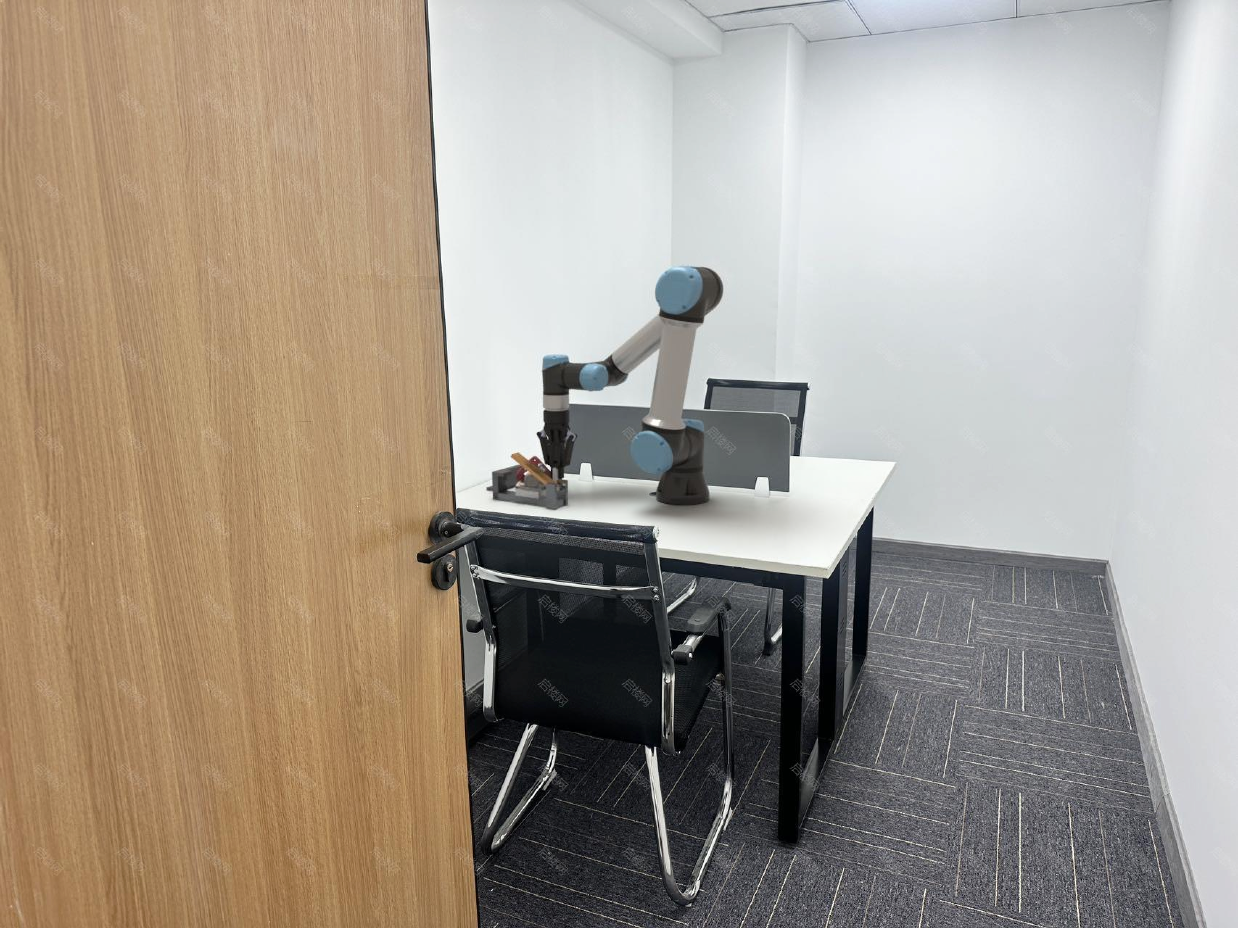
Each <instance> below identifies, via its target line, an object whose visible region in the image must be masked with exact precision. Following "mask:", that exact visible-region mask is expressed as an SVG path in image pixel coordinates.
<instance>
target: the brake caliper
mask: <svg viewBox="0 0 1238 928" xmlns="http://www.w3.org/2000/svg"><path fill="white" fill-rule="evenodd" d="M528 460H529V461H530V462H531V463H532V464H534V465H535V466H536V467H537V468H539V469H540V470H541V471H542V472H544V473H545V474H546V475H547V476H549V477H550V478H551V469H549V468H548V467H547V465H546V464H545V463H544V462H543V461H542V460H541V459H540V458H539V457H538V456H536V455H533V456H532V457H530V458H529V459H528ZM519 476H520V477H519ZM551 479H552V480H553V478H551ZM516 480H517V484H516V486H515V487H514V489H517V488H521V487H529V488H536V489H544V490H546V485H545V484H543V483H542V482H541V481H540V480H538V479H537V478H536V477H535V476H533V475H532V474H531V473H530V472H529V471H527V470H526V469H525V468H524V467H522V468H521V469H520V470H519V471H518V472H517V474H516Z"/></svg>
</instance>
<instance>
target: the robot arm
mask: <svg viewBox="0 0 1238 928" xmlns="http://www.w3.org/2000/svg"><path fill="white" fill-rule="evenodd" d="M723 294H724V283H723V281H722V278H721V277H720V276H719V274H718V273H717V272H716V271H715V270H713V269H711V268H709V267H705V266H692V265H691V266H690V265H683V264H682V265H678V266H674V267H670V268H668V269H667V270H665V271H664V272H663V273H662V274H661V275H660V276H659V277H658V280H657V282H656V285H655V289H654V297H655V301H656V302H657V304H658V307H659V310H658V311H659V313H658V314H656V315H655V316H654V317H653V318H651V320H650V321H648V322H646V324H645V325H643V326H642V327H641V328H640V329H639V330H638V331H637V332H635V333H634V334H633V335H632V336H630V338H629V339H627V340H626V341H625V342H624V343H623V344H621V345H620V346H619V347H618V348H617V349H616V350H615V351H613V353H611V354H610V355H609V356H608V357H607V358H605V359H604V360H599V361H592V362H584V363H583V362H570V359H569V356H568V355H567V354H547V355H545V356H543V357H542V369H541V374H542V408H543V411H542V412H543V413H542V414H543V415H542V416H543V417H542V418H543V419H542V420H543V423H544V425H543V428H542V430H540V431H537V432H536V436H537V438H538V440H539V444H540V449H541V454H542V457H543V461H544V462H543V464H544V465H545V466H549V468H550V471H551V478H553V481H555V482H556V483H557V480H558V479H562V480H564V479H565V467H569V466H570V465H571V461H572V456H573V452H574V451H573V450H574V446H575V441H576V440H577V438H578V435H577V434H576V433H573V432H572V431H571V428H570V425H569V424H570V421H571V420H570V419H571V417H570V416H571V415H570V410H569V408H570V390H577V391H588V392H600V391H603V390H604V388H608V387H616V386H619V385H621V384H623V383H625V382H626V381H627V379H628V377H629V374H630V373H631V372H633V371H634V370H635V369H636V368H638V367H639V366H640V365H641V364H642V363H644V362H645V361H646V360H647V359H649V358H650V357H652V355H653V354H654V353H656V352H657V351H658V356H657V363H656V369H655V376H654V381H653V388H652V394H651V401H650V407H649V412H648V414H647V415H645V416H644V417H643V418H642V419H641V420H642V421H641V428H640V431H639V432H638V433H637V434H636V435H635V436H634V438H633V439H632V441H631V444H630V454H631V457H632V461H633V462H635V464H636V466H637V467H638V468H639V469H640V470H642V471H643V472H646V473H648V474H655V475H656V474H661V476H660V478H659V481H658V485H657V487H656V491H655V499H656V500H657V501H658V502H661V503H664V504H668V505H669V504H670V505H679V506H680V505H681V506H682V505H683V506H685V505H687V506H688V505H689V506H690V505H698V504H703V503H707V502H708V501H709V500H710V490H709V486H708V483H707V479H706V477H705V472H704V463H705V462H704V461H705V460H704V459H705V458H704V457H705V455H704V453H705V433H706V432H705V425H704V422H703V421H701V420H699V419H690V418H682V415H683V409H684V405H685V404H684V403H685V398H686V392H687V387H688V380H689V375H690V368H691V364H692V358H693V352H694V347H695V346H694V345H695V342H696V341H695V340H696V334H697V329H698V328H700V327H701V326H702V325H704V323H705V316H707V315H708V314H709V313H711V312H712V311H713V310H715V308H716V307H718V305H719V304H720V302H721V301H722V299H723V296H724V295H723Z"/></svg>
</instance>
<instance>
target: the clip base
mask: <svg viewBox="0 0 1238 928" xmlns="http://www.w3.org/2000/svg"><path fill="white" fill-rule="evenodd" d="M502 469H503V468H502ZM502 469H497V470H493V471H491V478H492V479H491V481H492V485H491V486H493V491H492V500H495V501H496V500H497V501H502V502H511V503H517V504H522V505H523V504H524V505H530V506H535V507H537V506H538V507H543V508H546V509H547V510H548V509H549V510H558V509H559V508H562V507H564V506H569V480H568V479H558V480H557V484H558V485H561V486H562V490H560V491H557V484H554V483H546V490H544V489H536V488H529V487H521V488H517V489H516V488H514V489H515V490H514V491H513V490H509V489H508V490H507V475H511V474H512V471H510V470H502Z"/></svg>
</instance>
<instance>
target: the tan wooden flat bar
mask: <svg viewBox="0 0 1238 928" xmlns="http://www.w3.org/2000/svg"><path fill="white" fill-rule="evenodd" d="M510 458H511V459H513V460H514V461H515V462H516V463H517V464H518V465H521V466H522V467H524V468H525V469H526V470H527V472H530V473H531V474H532V475H533V476H535V477H536V478H537V479H538V480H540V481H541V482H542V483H543V484H545V485H546V483H554V484H557V483H556V482H555V481H553V480H552V479H551V478H550V477H549V476H547V475H546V474H545V473H544V472H542V471H541V470H540V469H539V468H537V467H536V466H535V465H534V464H532V463H531V462H530V461H529V459H527V458H526V457H525V456H524V455H522V454H521V452H514V453H512V454H511V456H510ZM560 490H562V486H561V485H558V484H557V491H560Z"/></svg>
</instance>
